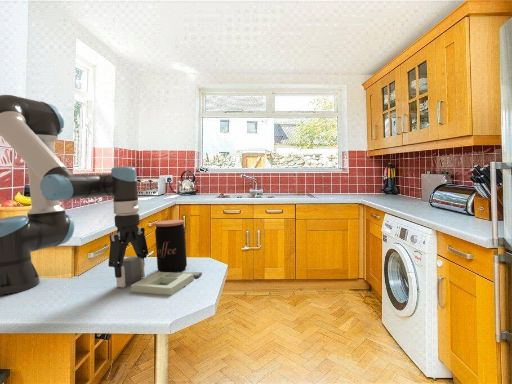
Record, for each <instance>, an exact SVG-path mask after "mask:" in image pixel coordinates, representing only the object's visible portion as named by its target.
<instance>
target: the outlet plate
mask: <svg viewBox="0 0 512 384" xmlns="http://www.w3.org/2000/svg"><path fill="white" fill-rule="evenodd" d="M194 280H195V278H194V274H188V273H182V272H176V273H174V272H159V271H156V272H154V273H152V274H150V275H148V276H146V277H144V278H141V280H140V281H138V282H136V283H134V284H132V285H130V286H131V288H130V289H131V290H130V291H131V292H133V293H144V294H154V295H155V294H157V295H166V296H173V295H174V294H175V293H177V292H178V291H179V290H181V289H183V288H184V287H185V286H187V285H188V284H190V283H191V282H193V281H194ZM164 284H166V285H164Z"/></svg>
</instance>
